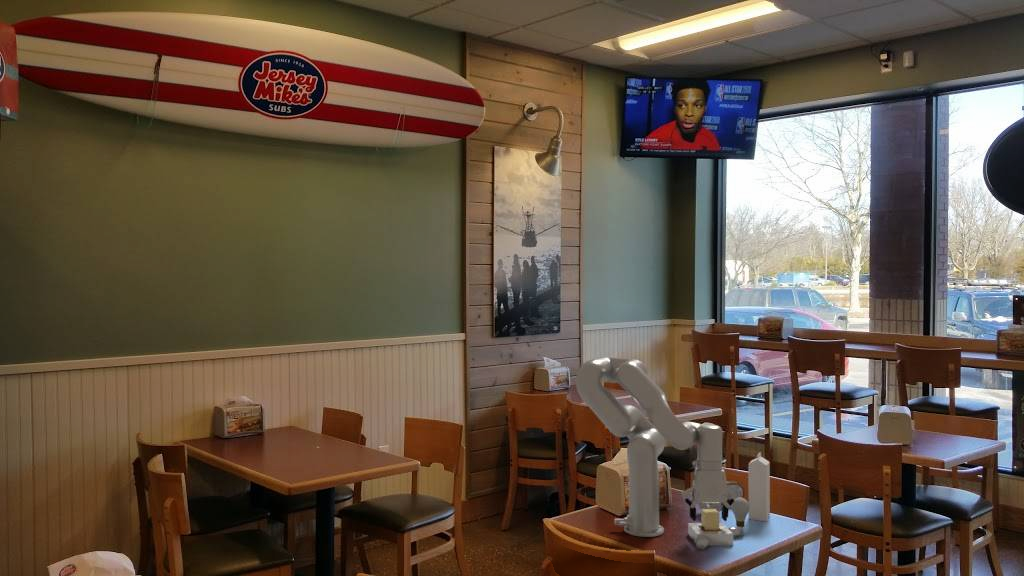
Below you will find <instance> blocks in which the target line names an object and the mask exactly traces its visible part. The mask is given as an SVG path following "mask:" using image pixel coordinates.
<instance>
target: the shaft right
mask: <svg viewBox="0 0 1024 576" xmlns="http://www.w3.org/2000/svg"><path fill="white" fill-rule="evenodd" d="M727 528H728V529H729V530H730V531H731V532H732V533H733V538H739V537H740V538H741V537H743V536H744V535H745V531H744V527H743V528H742V527H737V526H733V527H727Z"/></svg>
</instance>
